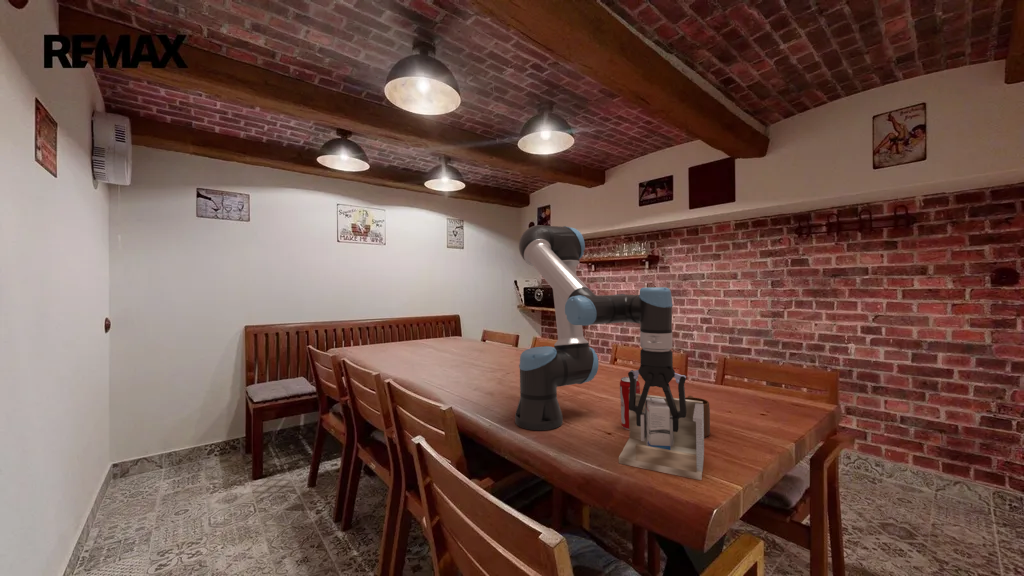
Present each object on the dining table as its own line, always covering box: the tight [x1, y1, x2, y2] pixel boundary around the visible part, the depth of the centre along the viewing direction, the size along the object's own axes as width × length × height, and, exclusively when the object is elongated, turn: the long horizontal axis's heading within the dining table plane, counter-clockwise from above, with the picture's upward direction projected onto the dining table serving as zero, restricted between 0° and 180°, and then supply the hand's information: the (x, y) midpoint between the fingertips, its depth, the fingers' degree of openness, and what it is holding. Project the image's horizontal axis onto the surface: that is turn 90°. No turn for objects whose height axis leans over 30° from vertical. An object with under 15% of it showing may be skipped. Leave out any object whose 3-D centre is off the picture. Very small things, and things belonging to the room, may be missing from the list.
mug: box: [685, 395, 711, 438], centre depth 112 cm, size 12×8×9 cm, turn 166°
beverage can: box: [619, 376, 641, 431], centre depth 115 cm, size 6×6×15 cm
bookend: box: [693, 403, 705, 473], centre depth 90 cm, size 2×12×12 cm, turn 152°
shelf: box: [618, 393, 703, 481], centre depth 94 cm, size 18×14×14 cm
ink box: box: [645, 398, 671, 450], centre depth 95 cm, size 9×5×12 cm, turn 168°
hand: (657, 441), depth 95 cm, fingers closed on ink box, 6 cm apart
